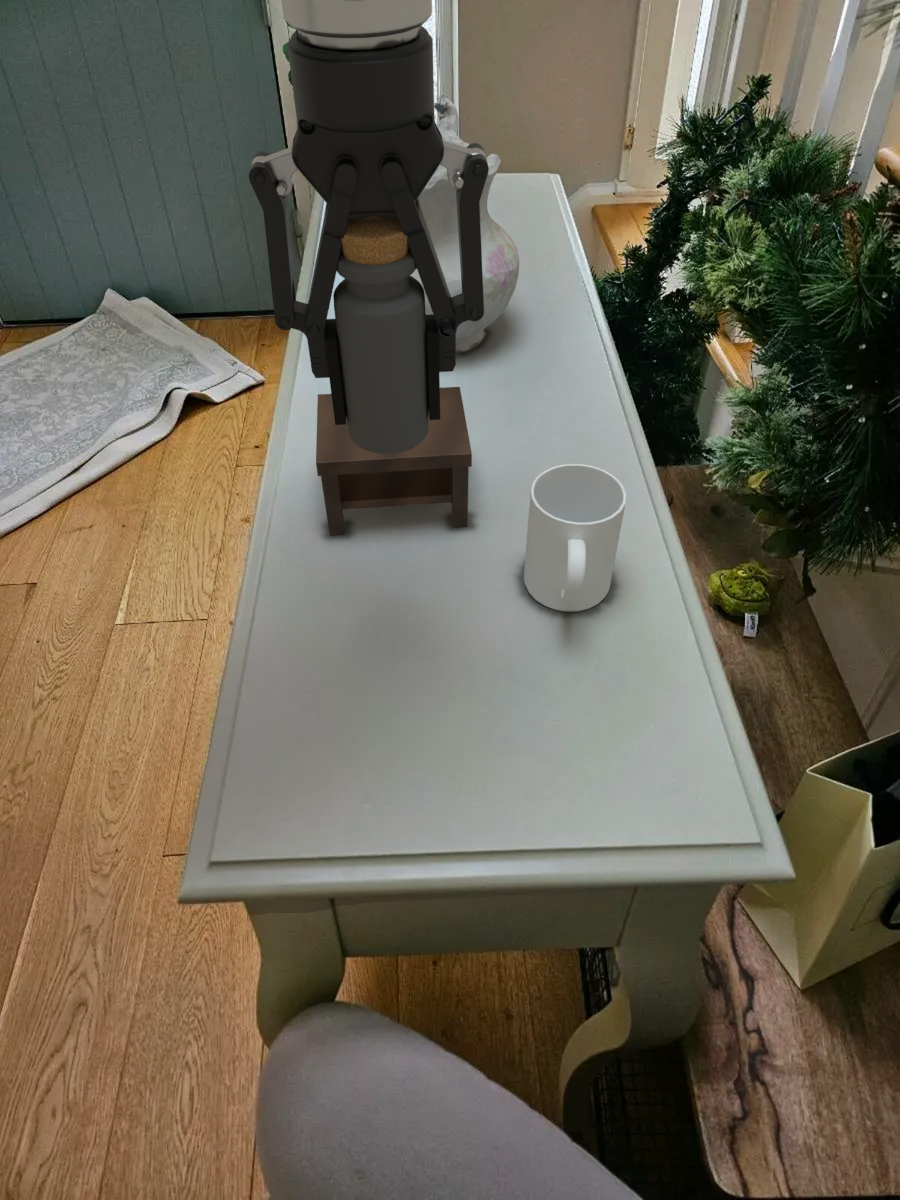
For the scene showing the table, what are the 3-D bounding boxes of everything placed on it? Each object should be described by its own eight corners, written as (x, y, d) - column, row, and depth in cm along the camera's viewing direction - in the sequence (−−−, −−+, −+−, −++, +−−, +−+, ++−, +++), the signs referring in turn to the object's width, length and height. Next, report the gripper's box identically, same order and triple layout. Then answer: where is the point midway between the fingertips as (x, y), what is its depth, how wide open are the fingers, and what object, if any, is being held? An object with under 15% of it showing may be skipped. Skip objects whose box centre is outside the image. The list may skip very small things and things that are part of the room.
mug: (525, 549, 82) (532, 460, 74) (609, 555, 81) (625, 466, 73) (519, 646, 73) (526, 557, 66) (612, 653, 73) (630, 564, 65)
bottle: (378, 465, 59) (359, 251, 48) (332, 426, 62) (305, 217, 51) (445, 434, 61) (442, 224, 51) (398, 398, 65) (385, 193, 54)
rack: (326, 537, 83) (315, 462, 76) (327, 467, 90) (317, 394, 84) (470, 528, 84) (471, 453, 77) (459, 459, 91) (459, 386, 85)
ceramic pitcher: (366, 300, 118) (333, 101, 100) (506, 282, 118) (499, 79, 100) (372, 388, 103) (334, 172, 85) (532, 367, 103) (529, 147, 85)
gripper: (161, 55, 41) (248, 450, 58) (553, 42, 42) (526, 435, 59) (183, 15, 46) (257, 388, 63) (532, 4, 47) (513, 376, 64)
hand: (387, 410), depth 61 cm, fingers closed on bottle, 6 cm apart
